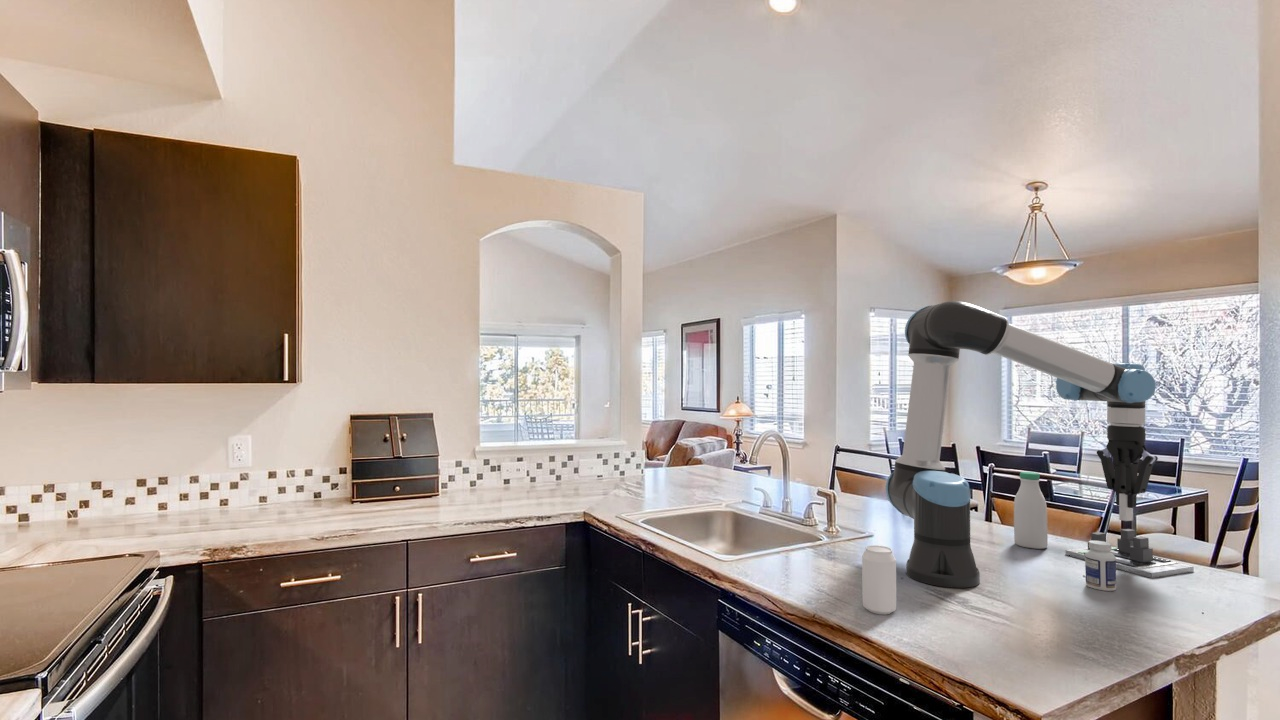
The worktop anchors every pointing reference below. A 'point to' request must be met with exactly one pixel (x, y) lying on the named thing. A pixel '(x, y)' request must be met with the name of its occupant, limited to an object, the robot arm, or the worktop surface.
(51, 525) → the worktop surface
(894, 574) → the beverage can
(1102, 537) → the handle left
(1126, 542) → the handle right
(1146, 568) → the panel
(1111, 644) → the worktop surface
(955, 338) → the robot arm
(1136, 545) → the handle mid
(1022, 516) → the milk bottle
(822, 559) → the worktop surface
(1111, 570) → the pill bottle
